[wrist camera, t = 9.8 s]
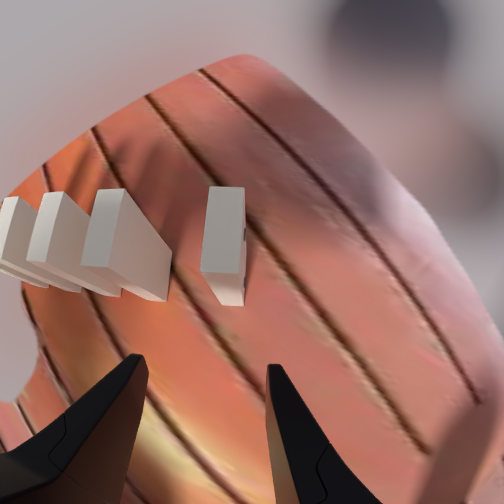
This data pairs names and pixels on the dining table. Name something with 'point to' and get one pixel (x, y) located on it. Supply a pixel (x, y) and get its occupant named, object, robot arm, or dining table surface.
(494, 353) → the dining table surface
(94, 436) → the robot arm
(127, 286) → the domino
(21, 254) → the domino
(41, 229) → the domino
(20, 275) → the domino
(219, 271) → the domino
